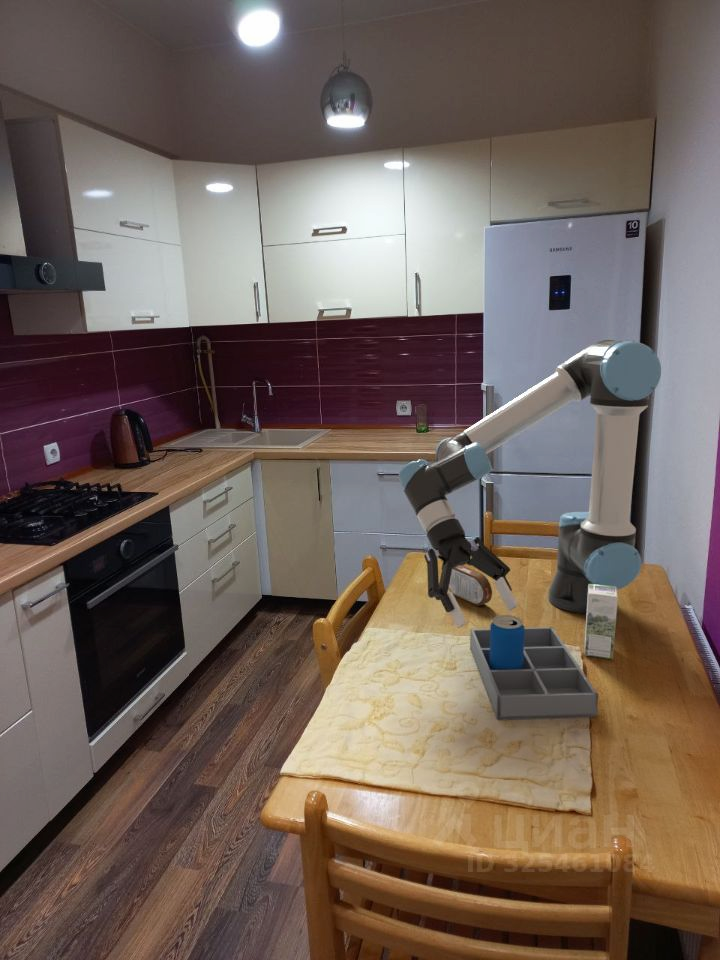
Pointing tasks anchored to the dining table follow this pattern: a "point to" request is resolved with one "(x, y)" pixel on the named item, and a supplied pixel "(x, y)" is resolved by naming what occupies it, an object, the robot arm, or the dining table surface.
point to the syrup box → (600, 621)
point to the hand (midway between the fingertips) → (488, 616)
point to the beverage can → (506, 643)
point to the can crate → (536, 679)
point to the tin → (470, 585)
